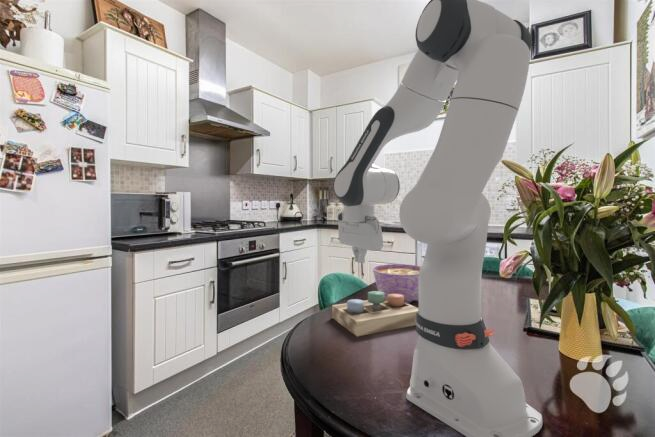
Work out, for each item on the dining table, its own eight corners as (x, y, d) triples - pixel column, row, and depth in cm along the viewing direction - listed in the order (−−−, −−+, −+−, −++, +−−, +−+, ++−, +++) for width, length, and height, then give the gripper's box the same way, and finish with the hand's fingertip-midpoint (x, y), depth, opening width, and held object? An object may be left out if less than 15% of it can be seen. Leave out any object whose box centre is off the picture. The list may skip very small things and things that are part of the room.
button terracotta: (407, 315, 101) (407, 296, 101) (393, 318, 99) (393, 298, 99) (397, 311, 105) (397, 292, 105) (384, 313, 103) (384, 294, 103)
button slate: (367, 322, 95) (367, 302, 95) (352, 325, 93) (352, 305, 93) (359, 317, 100) (359, 298, 100) (344, 320, 98) (344, 300, 98)
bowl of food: (409, 291, 132) (409, 262, 132) (441, 305, 113) (441, 272, 113) (363, 296, 126) (363, 266, 126) (389, 312, 107) (389, 276, 107)
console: (423, 323, 96) (423, 310, 96) (357, 336, 88) (356, 321, 88) (391, 308, 111) (391, 296, 111) (332, 317, 102) (332, 305, 102)
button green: (387, 313, 98) (387, 294, 98) (373, 316, 96) (373, 296, 96) (378, 309, 103) (378, 290, 102) (364, 311, 101) (364, 292, 100)
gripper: (388, 216, 88) (388, 267, 89) (352, 214, 107) (352, 256, 108) (368, 216, 86) (368, 269, 86) (334, 215, 105) (335, 258, 105)
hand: (359, 262), depth 97 cm, fingers closed
